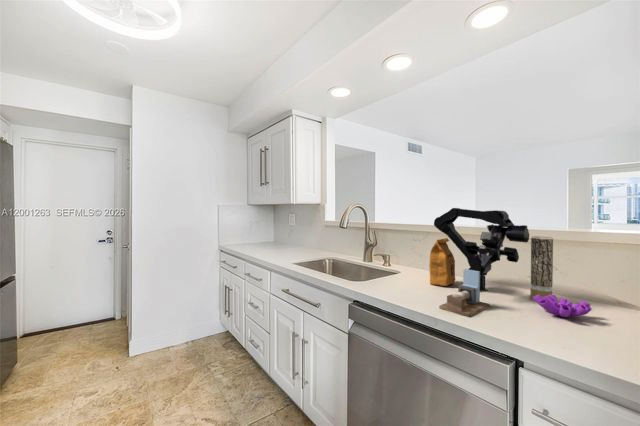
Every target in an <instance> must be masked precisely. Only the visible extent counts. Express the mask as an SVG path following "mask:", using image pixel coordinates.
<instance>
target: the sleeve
mask: <svg viewBox="0 0 640 426" xmlns="http://www.w3.org/2000/svg"><path fill="white" fill-rule="evenodd" d="M468 269H469V268H463V271H462V272H463V276H462V277H463V278H462V279H463V280H462V281H463V282H462V284H461V285H463V286H468V287H472V288H476V303H477V302H479V301H480V300H481V299H480V298H481V297H480V295H481V291H480V271H474V270H468ZM465 290H466V289H463V291H465ZM468 299H470V300H471V297H470V298H468ZM480 302H481V301H480Z"/></svg>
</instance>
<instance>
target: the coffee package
mask: <svg viewBox="0 0 640 426" xmlns="http://www.w3.org/2000/svg"><path fill="white" fill-rule="evenodd" d="M449 241H450V240H449V237H448V238H447V237H446V238H445V237H444V238H439V239H436V241H435V242H434V244H433V246H432V247H431V250H430V253H429V265H428V266H429V284H430V285H431V286H432V285H435V286H442V287H444V286H445V287H448V286H449V285H452V284H454V283H455V281H456V260H455V257H454V254H453V252H452V251H451V249H450V248H449V245H448V243H447V242H449Z"/></svg>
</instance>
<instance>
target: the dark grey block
mask: <svg viewBox="0 0 640 426" xmlns="http://www.w3.org/2000/svg"><path fill="white" fill-rule="evenodd" d="M457 288H458V292H462V291H463V289H466V290H471V300H470V299H466V302H468V303H471V304H475V303H476V288H472V287H468V286H463V285H462V284H459V285H458V287H457ZM458 292H457V293H458Z"/></svg>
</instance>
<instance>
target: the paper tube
mask: <svg viewBox="0 0 640 426" xmlns="http://www.w3.org/2000/svg"><path fill="white" fill-rule="evenodd" d="M553 261H554V238H553V237H552V236H551V237H550V236H536V235H535V236H531V237H530V297H531V299H533V297H534V296H536V295H540V296H541V297H545V296H548V295H553V282H554V281H553V279H554V277H553V275H554V273H553V272H554V266H553Z"/></svg>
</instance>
